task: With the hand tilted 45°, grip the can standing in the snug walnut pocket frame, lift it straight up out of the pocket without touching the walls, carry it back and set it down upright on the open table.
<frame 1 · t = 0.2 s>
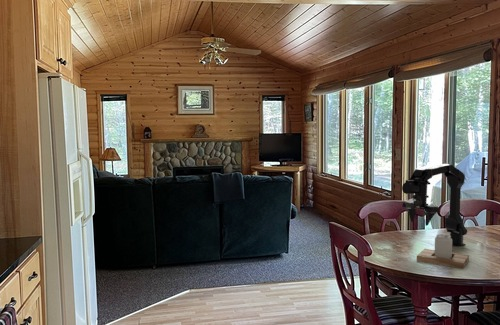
hand: (419, 223, 214), 14 cm above the table, tool pointing down, fingers open, 9 cm apart
pocket board: (443, 260, 200), on the table
can: (443, 260, 200), resting in pocket board
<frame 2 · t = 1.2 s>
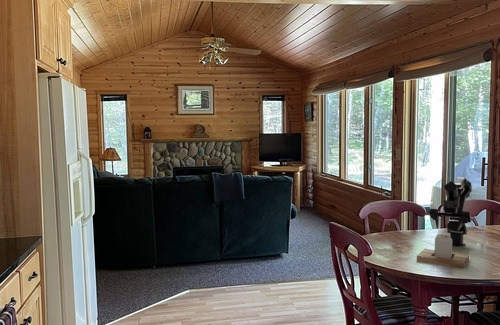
hand: (447, 229, 206), 13 cm above the table, tool tilted 45°, fingers open, 9 cm apart
nothing on the table moved.
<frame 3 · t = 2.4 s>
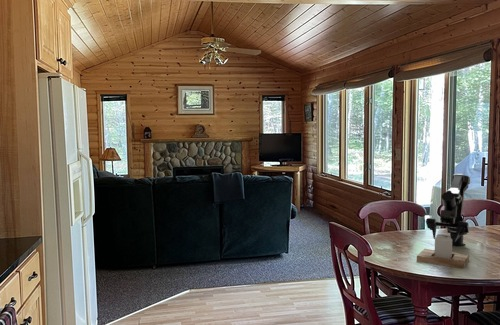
hand: (444, 239, 201), 9 cm above the table, tool tilted 45°, fingers open, 9 cm apart
nothing on the table moved.
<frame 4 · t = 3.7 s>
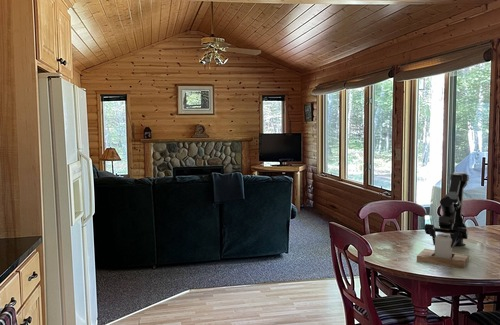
hand: (442, 246, 198), 7 cm above the table, tool tilted 45°, fingers closed on can, 7 cm apart
can: (443, 260, 200), resting in pocket board, touching gripper
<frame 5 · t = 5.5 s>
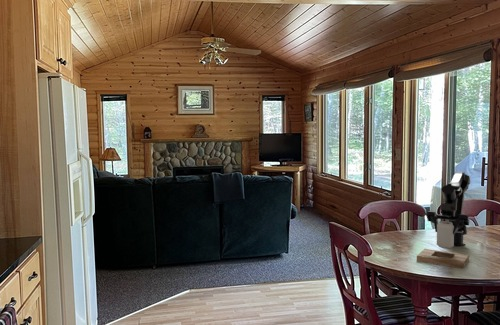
hand: (444, 232, 201), 13 cm above the table, tool tilted 45°, fingers closed on can, 7 cm apart
can: (445, 247, 203), point 5 cm above the table, touching gripper
when the fingers open (8 cm above the table, at t = 7.6 s): can drops 1 cm, on the table.
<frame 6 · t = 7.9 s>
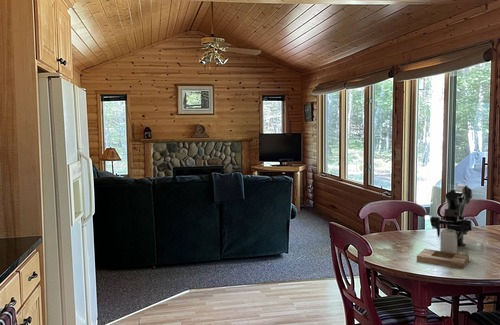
hand: (448, 237, 208), 9 cm above the table, tool tilted 45°, fingers open, 9 cm apart
can: (448, 254, 210), on the table
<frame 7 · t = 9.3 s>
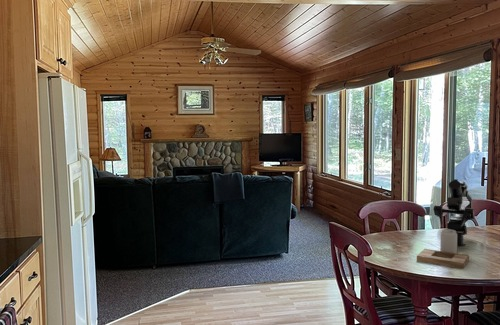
hand: (450, 225, 213), 14 cm above the table, tool tilted 45°, fingers open, 9 cm apart
nothing on the table moved.
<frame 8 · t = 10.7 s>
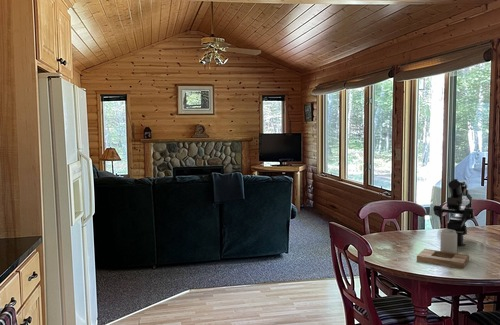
hand: (450, 225, 213), 14 cm above the table, tool tilted 45°, fingers open, 9 cm apart
nothing on the table moved.
at the end: can inside the target area (0.4 cm from its centre), on the table; can tilted 0°; can touching table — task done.
